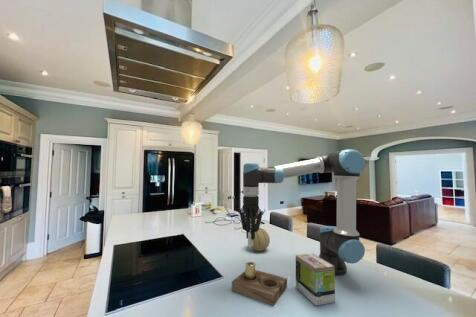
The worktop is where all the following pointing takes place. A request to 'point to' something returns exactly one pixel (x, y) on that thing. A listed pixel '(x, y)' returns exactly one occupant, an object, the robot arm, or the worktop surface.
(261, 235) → the cantaloupe
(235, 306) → the worktop surface
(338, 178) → the robot arm
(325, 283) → the tea box
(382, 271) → the worktop surface
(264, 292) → the jig
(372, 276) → the worktop surface
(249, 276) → the bushing
